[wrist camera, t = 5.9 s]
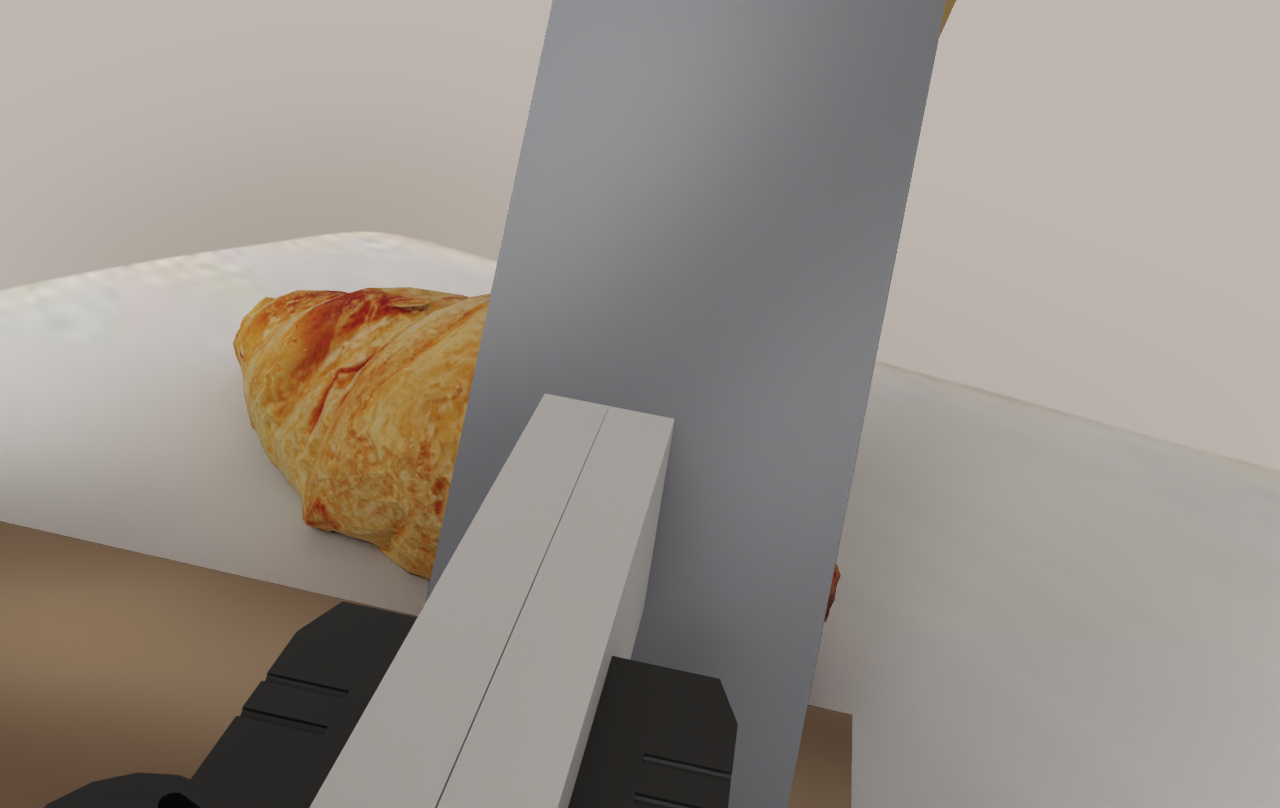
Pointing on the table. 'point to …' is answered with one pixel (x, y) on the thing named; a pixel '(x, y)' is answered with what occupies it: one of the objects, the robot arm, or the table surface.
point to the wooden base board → (181, 668)
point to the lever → (712, 306)
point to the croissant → (367, 407)
